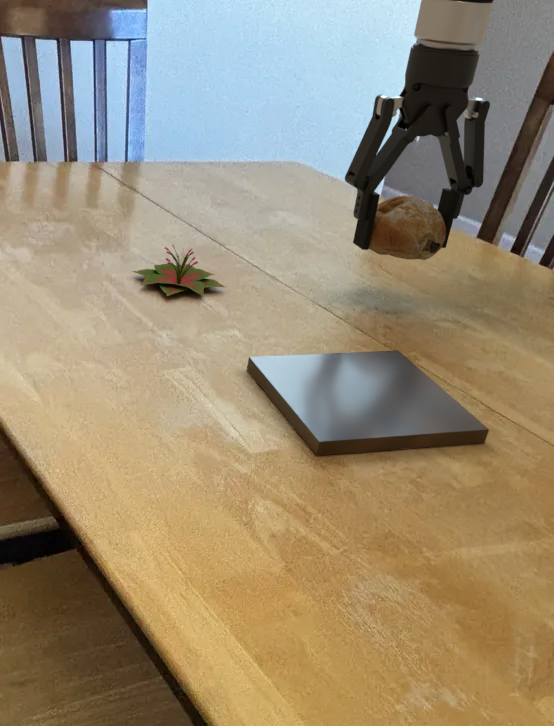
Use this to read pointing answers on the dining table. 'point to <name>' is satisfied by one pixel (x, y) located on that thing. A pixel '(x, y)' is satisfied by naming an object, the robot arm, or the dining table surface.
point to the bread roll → (407, 228)
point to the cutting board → (363, 402)
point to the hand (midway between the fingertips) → (399, 245)
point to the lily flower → (178, 276)
